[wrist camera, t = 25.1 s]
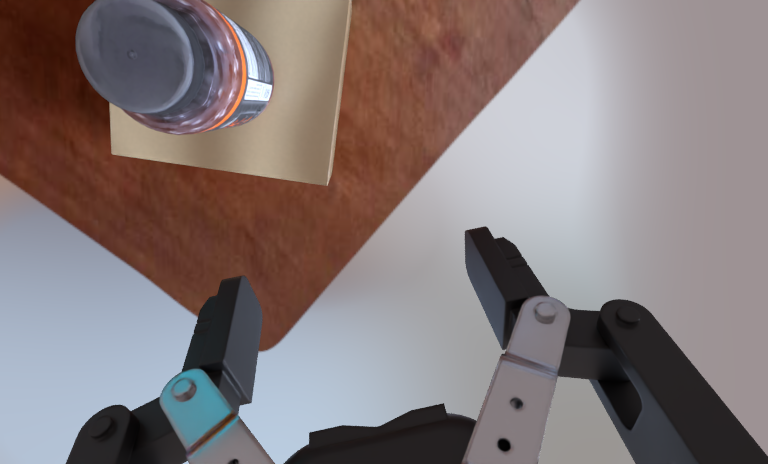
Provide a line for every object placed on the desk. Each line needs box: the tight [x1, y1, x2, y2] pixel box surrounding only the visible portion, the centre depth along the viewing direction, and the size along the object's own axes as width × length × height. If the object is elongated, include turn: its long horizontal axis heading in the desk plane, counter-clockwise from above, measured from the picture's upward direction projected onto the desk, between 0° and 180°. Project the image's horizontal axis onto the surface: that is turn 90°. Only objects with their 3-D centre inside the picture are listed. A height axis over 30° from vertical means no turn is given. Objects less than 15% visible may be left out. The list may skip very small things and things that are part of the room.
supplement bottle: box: [76, 0, 275, 135], centre depth 19 cm, size 6×6×11 cm
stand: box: [109, 0, 352, 186], centre depth 27 cm, size 14×12×5 cm
